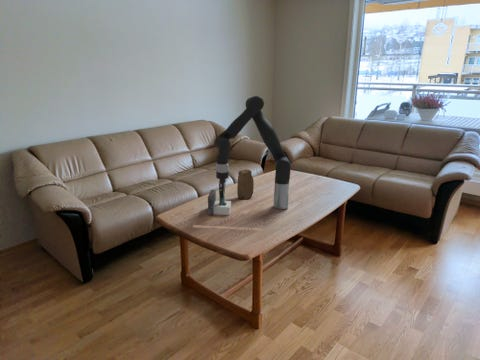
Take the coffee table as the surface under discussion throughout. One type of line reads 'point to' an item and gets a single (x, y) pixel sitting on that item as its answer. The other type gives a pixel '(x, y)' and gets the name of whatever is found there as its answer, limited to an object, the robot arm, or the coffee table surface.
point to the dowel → (222, 200)
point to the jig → (211, 201)
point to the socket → (222, 208)
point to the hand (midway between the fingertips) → (222, 196)
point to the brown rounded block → (245, 184)
